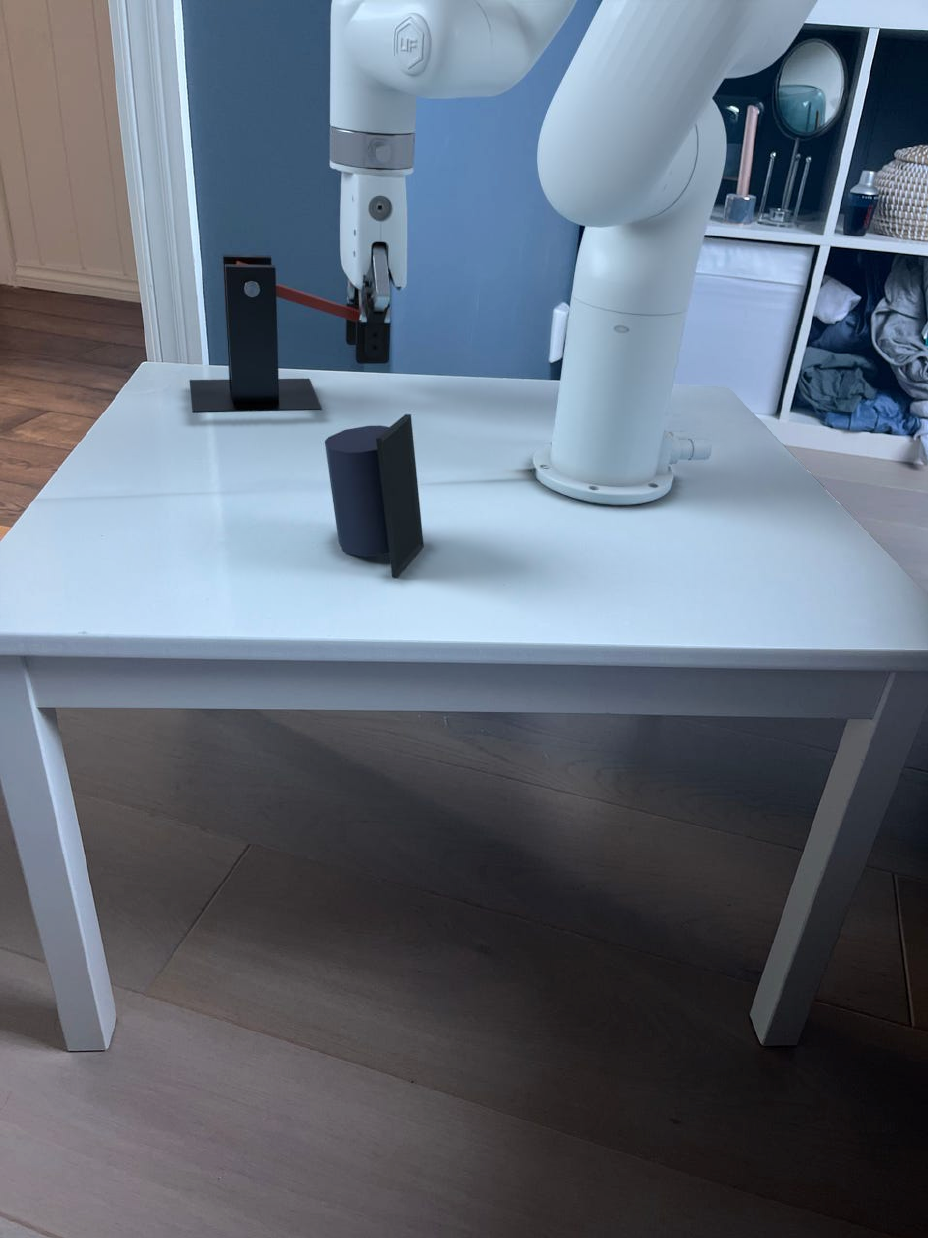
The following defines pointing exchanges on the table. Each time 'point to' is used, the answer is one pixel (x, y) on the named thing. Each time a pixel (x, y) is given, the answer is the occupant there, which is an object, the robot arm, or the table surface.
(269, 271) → the bracket
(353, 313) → the lever
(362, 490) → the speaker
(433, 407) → the table surface
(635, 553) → the table surface
